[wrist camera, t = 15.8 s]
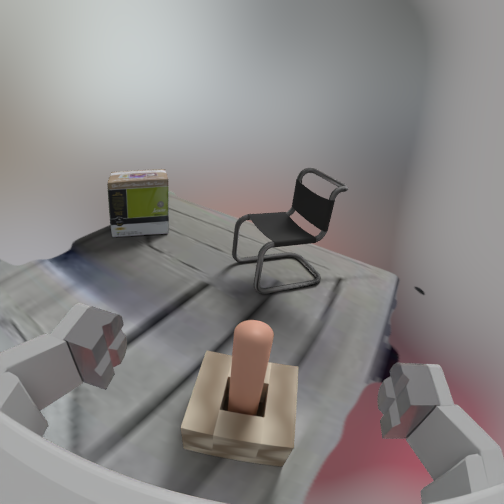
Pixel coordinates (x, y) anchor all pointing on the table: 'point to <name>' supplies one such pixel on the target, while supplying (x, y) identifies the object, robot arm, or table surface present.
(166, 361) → the table surface
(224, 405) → the socket block
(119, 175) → the tea box
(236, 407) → the dowel
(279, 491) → the table surface
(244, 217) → the chair
